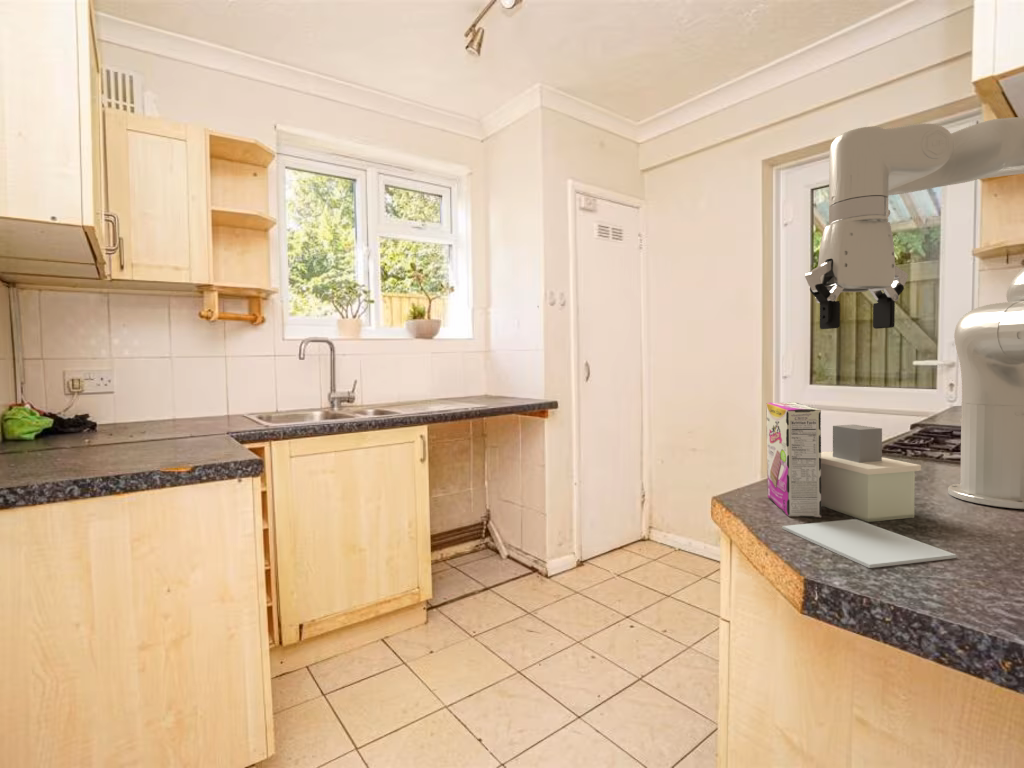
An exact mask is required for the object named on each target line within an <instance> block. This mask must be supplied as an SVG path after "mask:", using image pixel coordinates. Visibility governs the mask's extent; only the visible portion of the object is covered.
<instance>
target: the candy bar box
mask: <svg viewBox="0 0 1024 768" xmlns="http://www.w3.org/2000/svg"><path fill="white" fill-rule="evenodd" d="M765 406H766V448H767V449H766V452H767V453H766V456H767V458H766V461H767V463H766V464H767V468H766V471H767V472H766V473H767V498H768V499H769V500H771V501H772V503H773V504H775V505H776V506H777V507H778V508H779V509H780V511H782V512H783V513H784V514H785V515H786V516H787V517H789V518H822V506H821V452H822V427H821V425H822V423H821V422H822V421H821V419H822V418H821V413H822V410H821V409H819V408H816V407H812V406H808V405H805V404H803V403H799V402H794V401H793V402H790V401H789V402H788V401H787V402H784V401H783V402H782V401H781V402H773V401H772V402H767V403H766V404H765Z"/></svg>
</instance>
